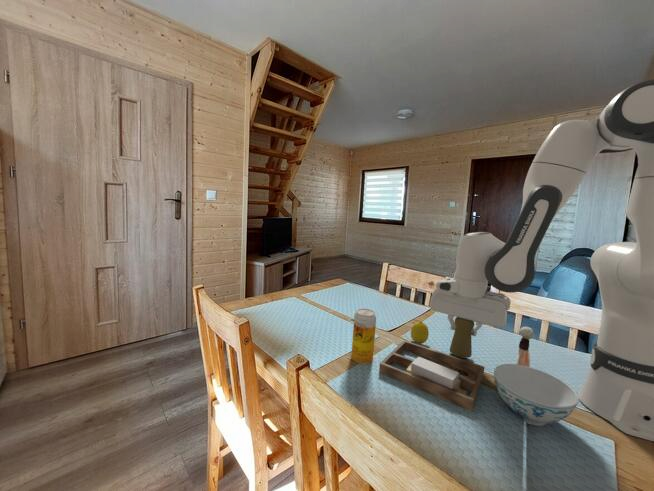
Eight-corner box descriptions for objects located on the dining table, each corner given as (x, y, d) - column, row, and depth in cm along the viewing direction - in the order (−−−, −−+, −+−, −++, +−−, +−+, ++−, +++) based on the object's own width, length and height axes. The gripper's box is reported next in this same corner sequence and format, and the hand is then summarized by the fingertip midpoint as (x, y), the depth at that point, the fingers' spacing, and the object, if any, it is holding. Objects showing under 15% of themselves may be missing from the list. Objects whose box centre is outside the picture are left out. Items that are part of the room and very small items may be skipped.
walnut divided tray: (482, 380, 75) (484, 366, 75) (471, 417, 62) (473, 400, 61) (402, 352, 88) (404, 340, 87) (378, 377, 74) (379, 363, 74)
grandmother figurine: (532, 377, 78) (539, 333, 76) (515, 373, 80) (522, 330, 78) (526, 363, 85) (532, 323, 83) (511, 360, 87) (517, 320, 85)
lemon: (429, 349, 91) (432, 325, 90) (412, 348, 91) (414, 324, 90) (424, 340, 96) (426, 318, 95) (407, 339, 96) (410, 317, 95)
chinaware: (535, 393, 71) (539, 364, 70) (592, 443, 56) (599, 407, 55) (476, 391, 71) (480, 362, 69) (519, 441, 56) (524, 406, 55)
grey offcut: (458, 381, 68) (459, 372, 68) (452, 389, 65) (453, 380, 64) (418, 364, 75) (418, 356, 74) (410, 371, 71) (411, 363, 71)
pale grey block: (459, 388, 69) (460, 380, 69) (455, 397, 65) (456, 389, 65) (411, 369, 76) (412, 362, 75) (405, 377, 72) (406, 369, 72)
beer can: (347, 363, 80) (351, 313, 78) (355, 354, 85) (359, 306, 83) (368, 370, 77) (372, 318, 75) (375, 360, 82) (379, 311, 80)
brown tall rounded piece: (474, 359, 82) (479, 322, 80) (452, 356, 82) (457, 320, 81) (467, 348, 88) (472, 314, 86) (447, 346, 88) (451, 312, 87)
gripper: (512, 293, 79) (505, 339, 81) (436, 278, 91) (431, 319, 93) (510, 298, 74) (503, 348, 76) (430, 282, 85) (425, 325, 87)
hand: (463, 332), depth 84 cm, fingers closed on brown tall rounded piece, 4 cm apart
